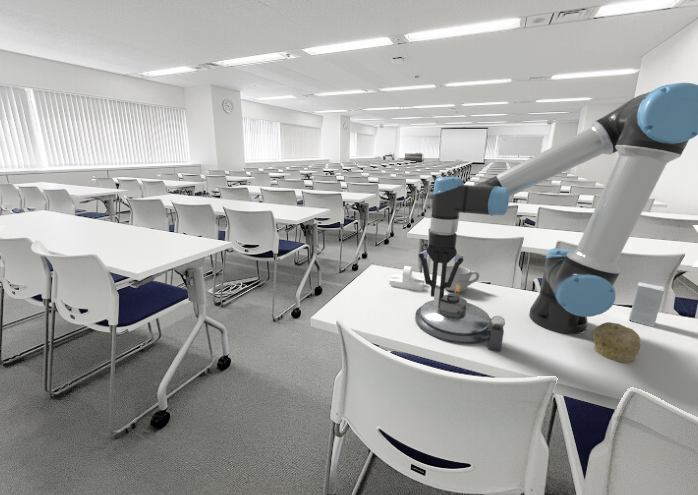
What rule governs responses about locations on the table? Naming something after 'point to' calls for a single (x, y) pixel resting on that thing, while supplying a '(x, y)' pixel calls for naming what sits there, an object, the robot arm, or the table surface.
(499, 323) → the dark bottle
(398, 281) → the slotted bracket
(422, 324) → the turntable base
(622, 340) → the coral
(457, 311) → the cover
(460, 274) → the teacup
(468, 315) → the turntable
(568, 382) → the table surface
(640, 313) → the skincare box
